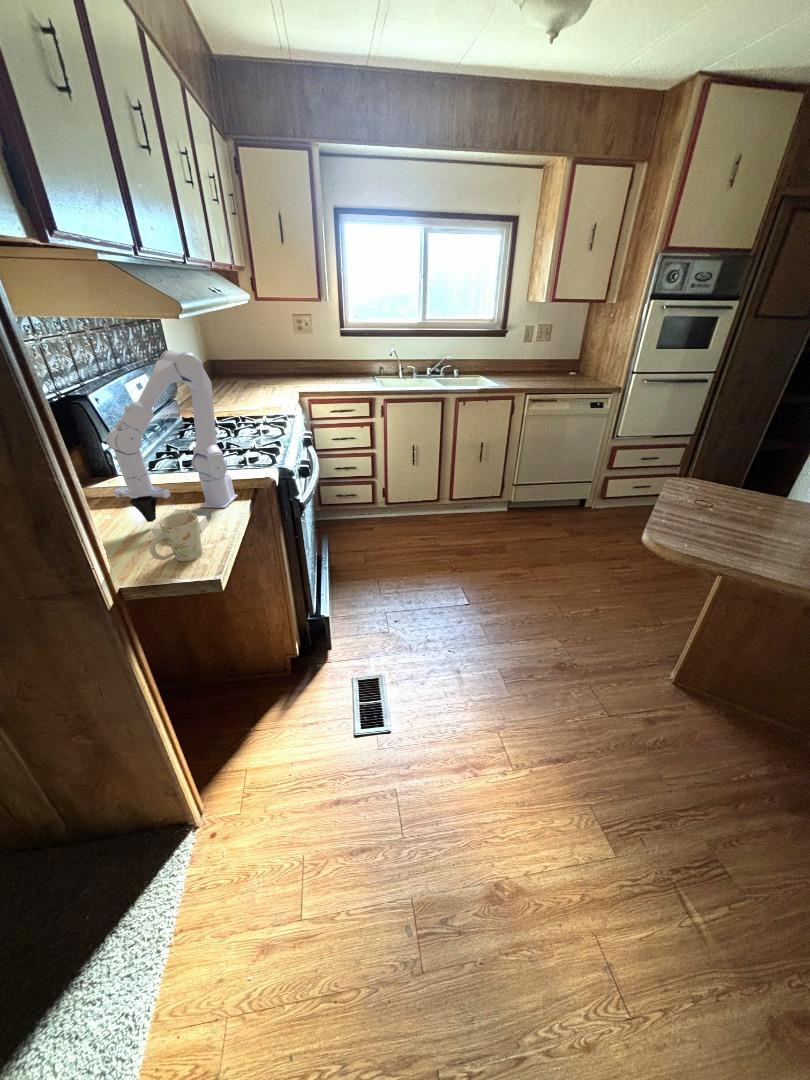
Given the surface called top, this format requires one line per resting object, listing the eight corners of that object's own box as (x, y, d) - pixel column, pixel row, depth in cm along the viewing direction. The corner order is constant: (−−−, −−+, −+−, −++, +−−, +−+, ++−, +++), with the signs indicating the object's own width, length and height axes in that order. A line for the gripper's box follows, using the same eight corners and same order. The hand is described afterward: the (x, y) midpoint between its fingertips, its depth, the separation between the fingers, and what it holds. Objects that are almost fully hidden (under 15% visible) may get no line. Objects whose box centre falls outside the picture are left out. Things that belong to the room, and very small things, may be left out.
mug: (214, 551, 108) (204, 516, 103) (168, 576, 99) (155, 538, 94) (193, 543, 112) (183, 509, 107) (147, 566, 102) (134, 530, 97)
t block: (178, 518, 125) (176, 509, 124) (215, 519, 124) (212, 509, 123) (155, 538, 115) (151, 528, 113) (194, 539, 114) (191, 529, 112)
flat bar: (195, 515, 126) (193, 509, 125) (211, 516, 126) (209, 510, 125) (165, 541, 113) (163, 535, 112) (183, 542, 113) (181, 535, 112)
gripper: (99, 479, 110) (117, 526, 116) (152, 480, 108) (168, 527, 115) (117, 470, 116) (134, 514, 122) (168, 470, 115) (182, 515, 121)
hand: (151, 520), depth 119 cm, fingers closed
